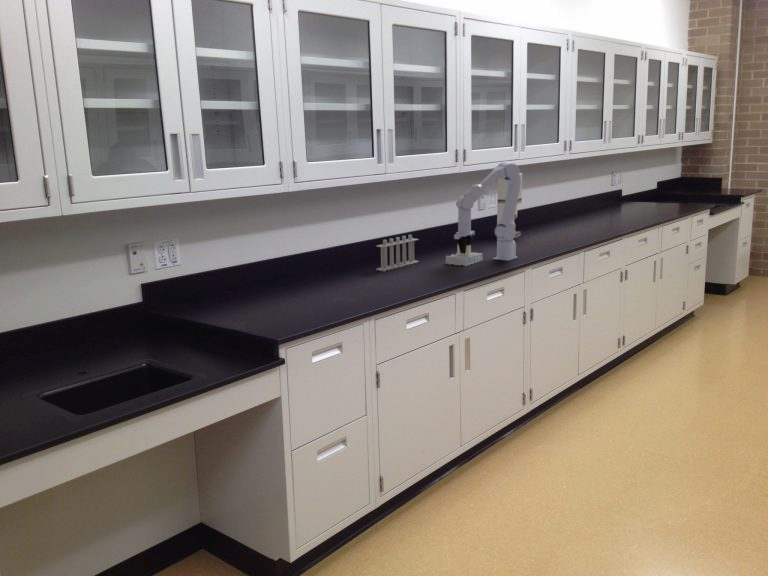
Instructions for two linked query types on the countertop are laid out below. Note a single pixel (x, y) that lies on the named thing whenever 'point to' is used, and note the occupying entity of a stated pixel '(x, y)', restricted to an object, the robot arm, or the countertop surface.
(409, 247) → the test tube rack
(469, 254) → the cream tile
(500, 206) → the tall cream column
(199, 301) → the countertop surface
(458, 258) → the drying rack
